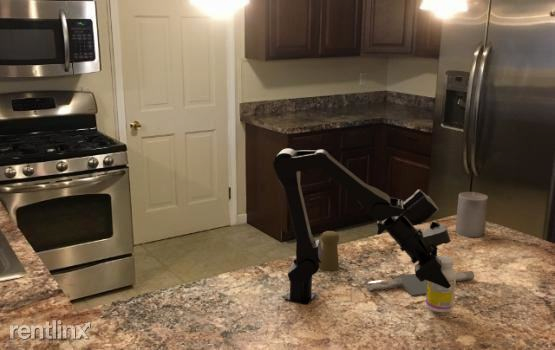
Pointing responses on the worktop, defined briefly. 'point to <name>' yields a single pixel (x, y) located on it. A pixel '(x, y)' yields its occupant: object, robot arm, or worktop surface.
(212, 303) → the worktop surface
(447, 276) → the supplement bottle
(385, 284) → the steel shafts
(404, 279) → the rubber pad
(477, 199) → the pillar candle
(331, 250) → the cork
